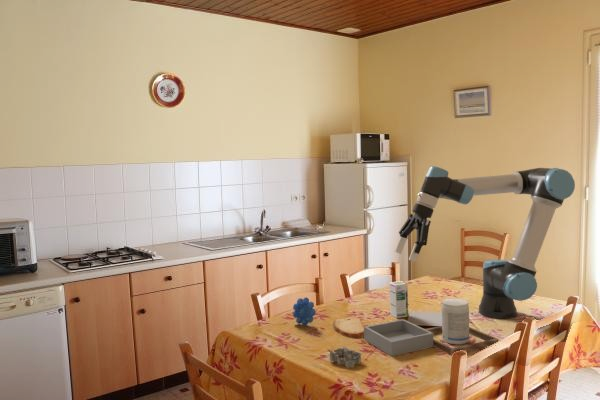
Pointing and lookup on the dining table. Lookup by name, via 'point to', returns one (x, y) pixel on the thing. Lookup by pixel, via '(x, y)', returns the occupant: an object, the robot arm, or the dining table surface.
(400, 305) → the syrup box
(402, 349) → the grey bin
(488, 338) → the rim
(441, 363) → the dining table surface
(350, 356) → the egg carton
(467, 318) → the supplement tub
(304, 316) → the grapes
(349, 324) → the bread slice
